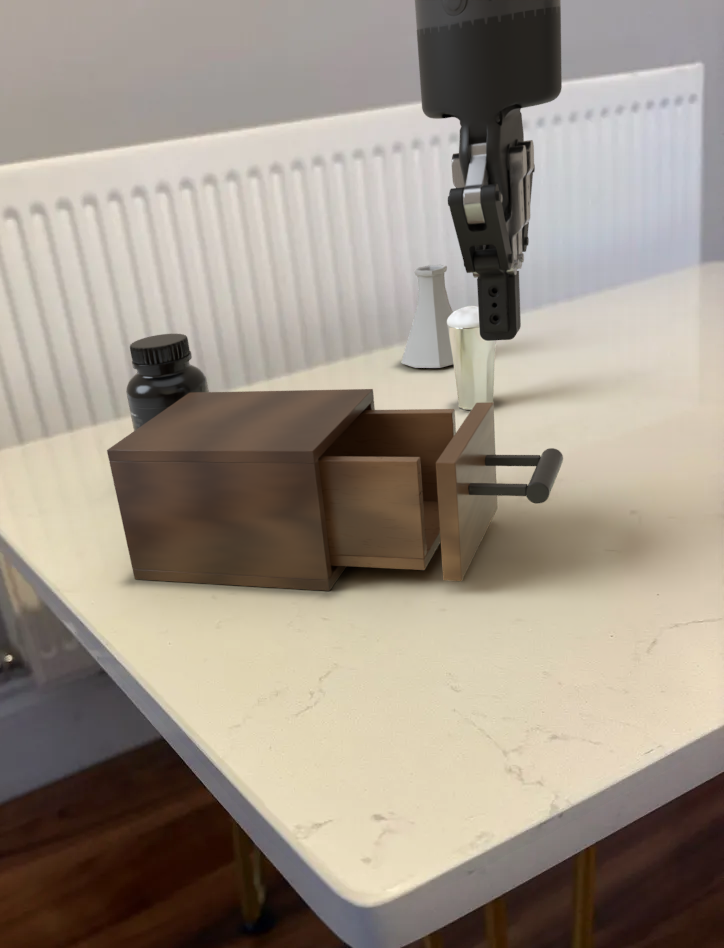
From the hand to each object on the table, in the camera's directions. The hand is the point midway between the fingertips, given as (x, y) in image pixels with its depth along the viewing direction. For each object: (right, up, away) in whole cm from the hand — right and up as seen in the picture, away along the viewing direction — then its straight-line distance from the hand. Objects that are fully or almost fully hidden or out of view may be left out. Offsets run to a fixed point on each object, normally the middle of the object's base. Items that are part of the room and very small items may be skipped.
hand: (500, 336), depth 62 cm
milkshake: (+6, +2, +34) cm, 35 cm away
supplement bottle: (-22, -5, +28) cm, 36 cm away
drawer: (-4, -12, +7) cm, 15 cm away
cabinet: (-15, -12, +12) cm, 23 cm away
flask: (+4, +10, +50) cm, 52 cm away
